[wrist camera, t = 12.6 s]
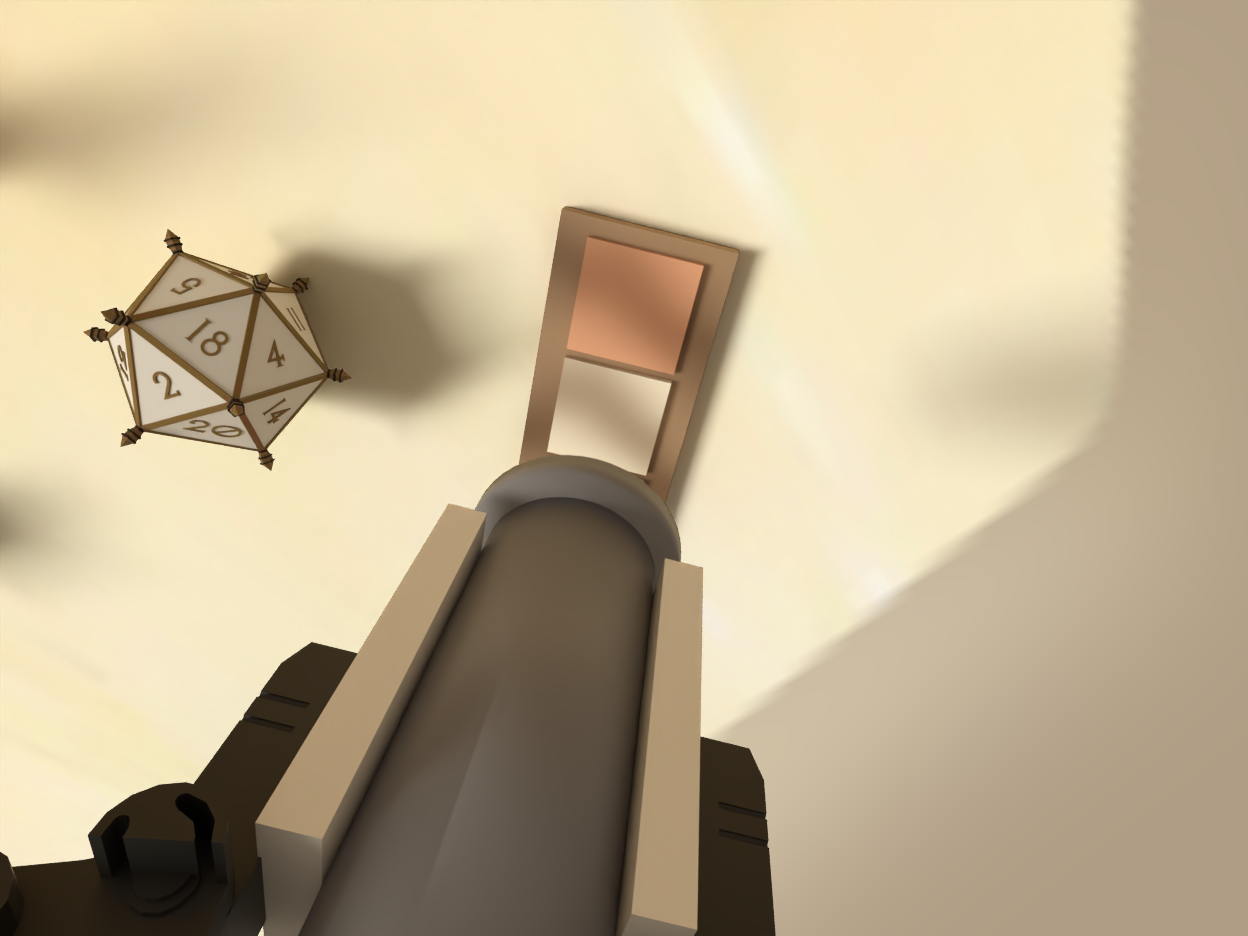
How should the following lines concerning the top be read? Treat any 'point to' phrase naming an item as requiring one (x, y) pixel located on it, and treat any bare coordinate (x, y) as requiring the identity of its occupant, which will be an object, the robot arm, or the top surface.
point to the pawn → (517, 725)
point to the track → (624, 344)
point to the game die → (215, 354)
